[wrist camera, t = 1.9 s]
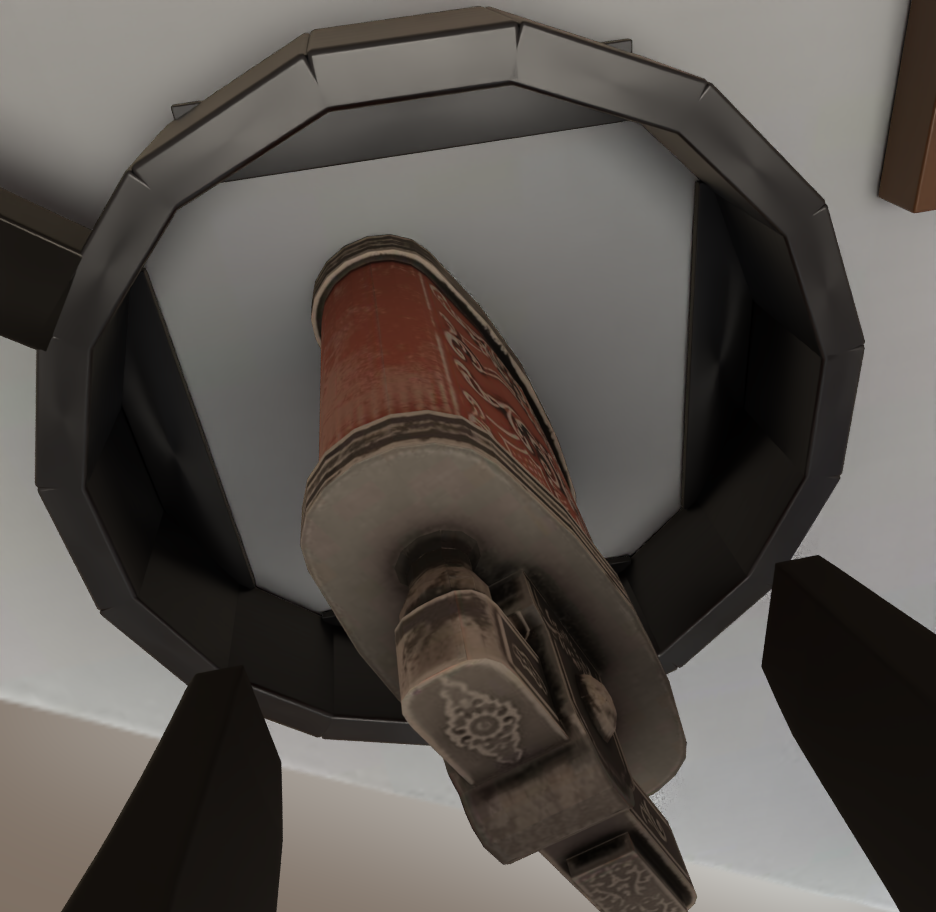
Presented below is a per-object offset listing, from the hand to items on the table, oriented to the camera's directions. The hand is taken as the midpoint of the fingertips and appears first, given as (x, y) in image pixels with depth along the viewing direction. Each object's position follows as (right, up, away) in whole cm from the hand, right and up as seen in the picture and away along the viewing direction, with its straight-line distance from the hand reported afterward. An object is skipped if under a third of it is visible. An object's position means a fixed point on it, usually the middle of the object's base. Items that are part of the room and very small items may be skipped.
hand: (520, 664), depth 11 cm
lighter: (-1, +4, +6) cm, 8 cm away
